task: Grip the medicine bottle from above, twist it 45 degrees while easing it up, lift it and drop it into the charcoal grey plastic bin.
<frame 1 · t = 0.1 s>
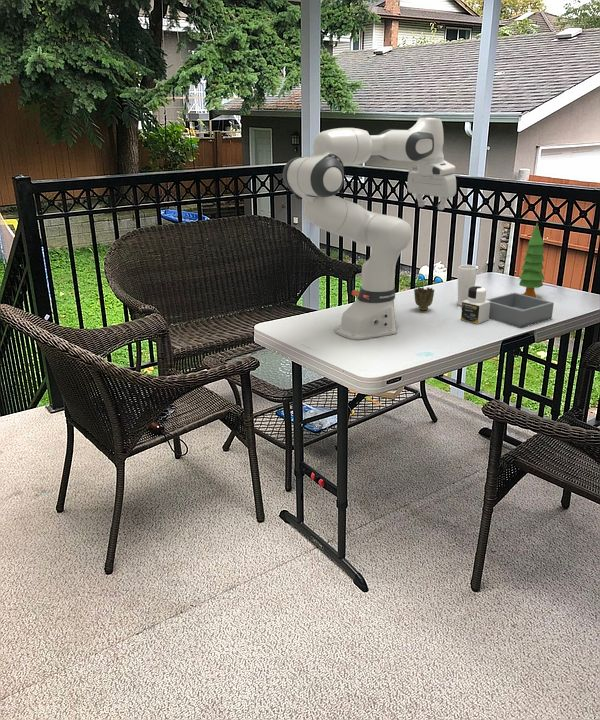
hand: (431, 208, 219), 39 cm above the table, tool pointing down, fingers open, 8 cm apart
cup: (423, 310, 240), on the table
medicine bottle: (474, 320, 227), on the table
bin: (516, 317, 229), on the table
decorative tree: (528, 297, 252), on the table
drinking glass: (464, 305, 244), on the table
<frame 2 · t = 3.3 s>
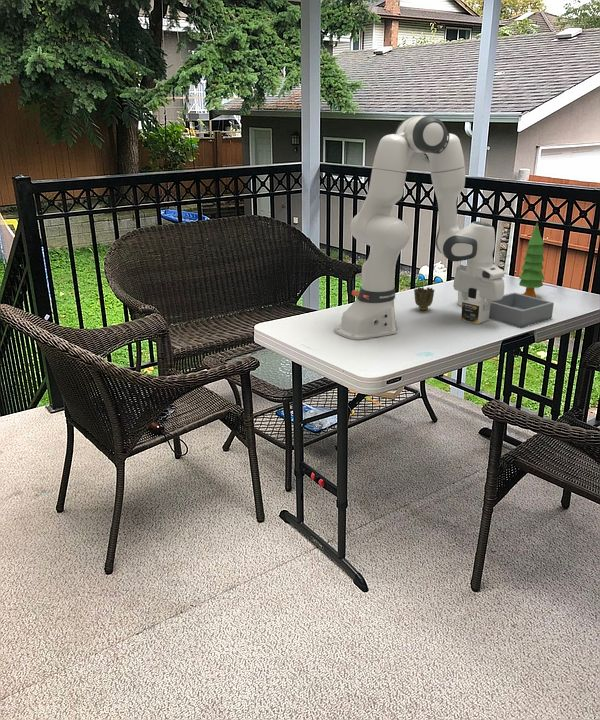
hand: (476, 307, 225), 5 cm above the table, tool pointing down, fingers closed on medicine bottle, 7 cm apart
medicine bottle: (474, 320, 227), on the table, touching gripper
everything else where it was.
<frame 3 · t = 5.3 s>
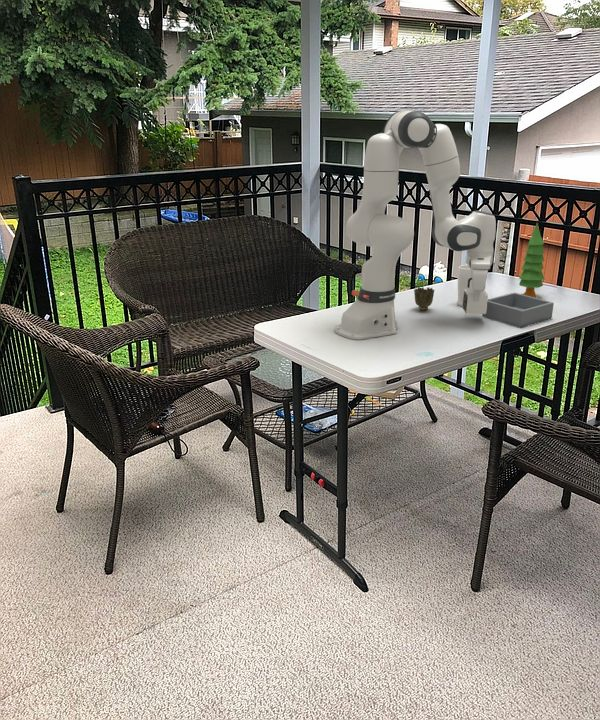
hand: (475, 297, 224), 8 cm above the table, tool pointing down, fingers closed on medicine bottle, 7 cm apart
medicine bottle: (474, 311, 226), point 3 cm above the table, touching gripper
everything else where it was.
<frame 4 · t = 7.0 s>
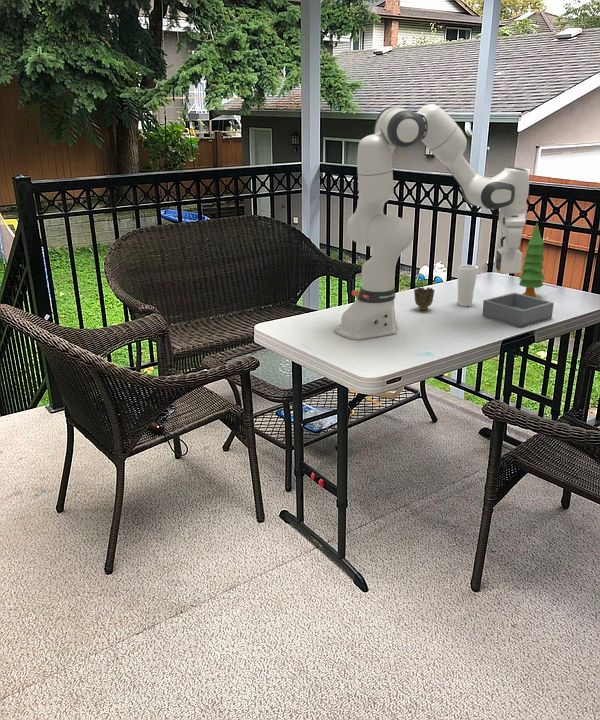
hand: (509, 256, 220), 22 cm above the table, tool pointing down, fingers closed on medicine bottle, 7 cm apart
medicine bottle: (507, 271, 222), point 17 cm above the table, touching gripper
everything else where it was.
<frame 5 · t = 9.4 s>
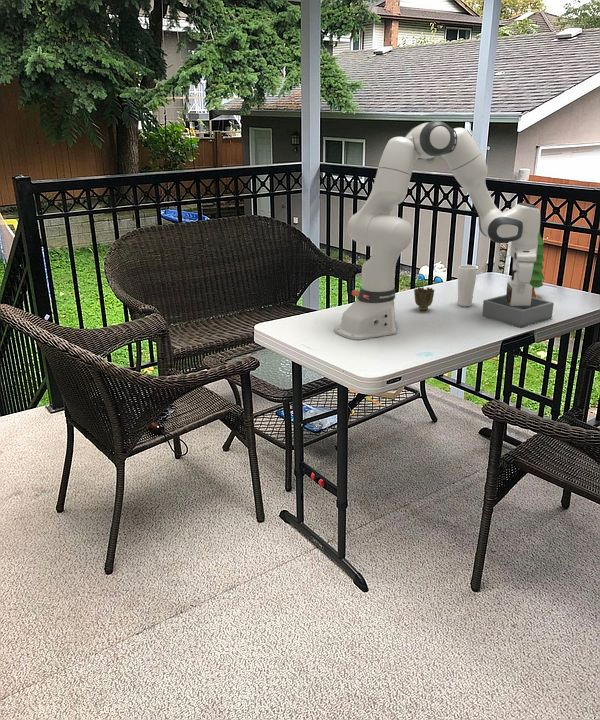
hand: (519, 289, 225), 10 cm above the table, tool pointing down, fingers closed on medicine bottle, 7 cm apart
medicine bottle: (517, 303, 227), point 5 cm above the table, touching gripper
everything else where it was.
when the fingers open (7 cm above the table, at t = 10.8 s): medicine bottle stays where it is, resting on bin.
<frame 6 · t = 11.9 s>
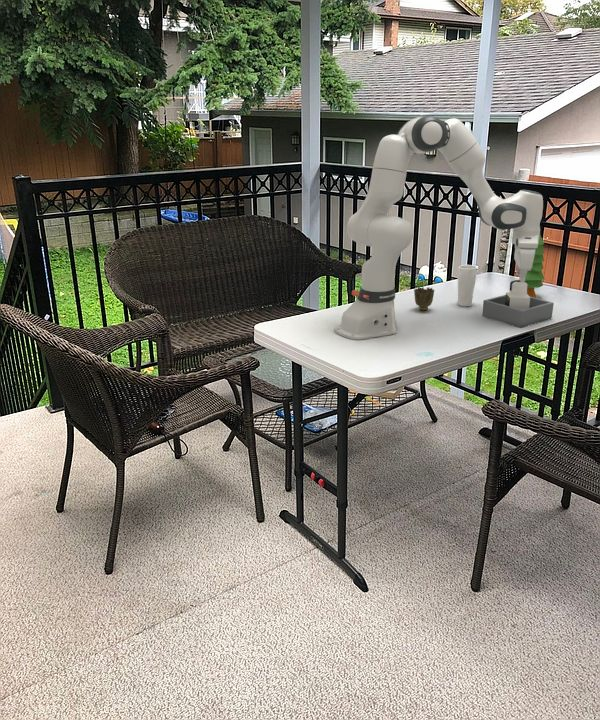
hand: (520, 278, 223), 15 cm above the table, tool pointing down, fingers open, 8 cm apart
medicine bottle: (516, 314, 229), point 1 cm above the table, touching bin
everything else where it was.
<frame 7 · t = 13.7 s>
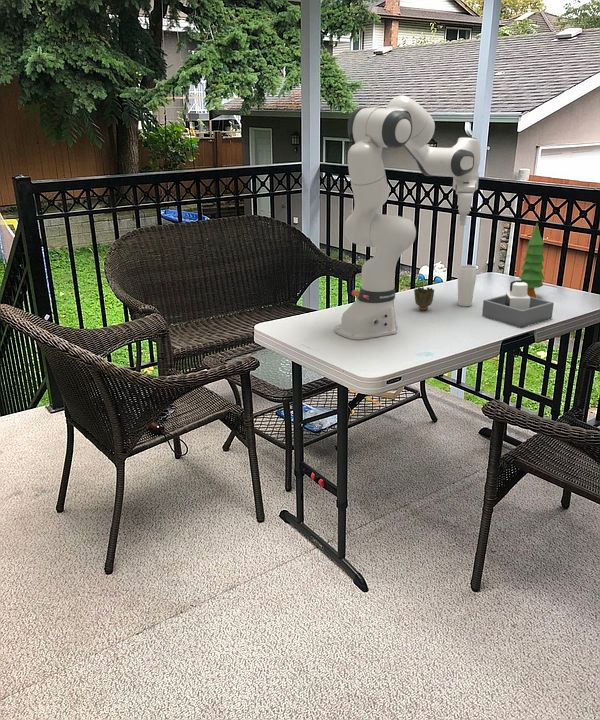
hand: (462, 223, 234), 31 cm above the table, tool pointing down, fingers open, 8 cm apart
nothing on the table moved.
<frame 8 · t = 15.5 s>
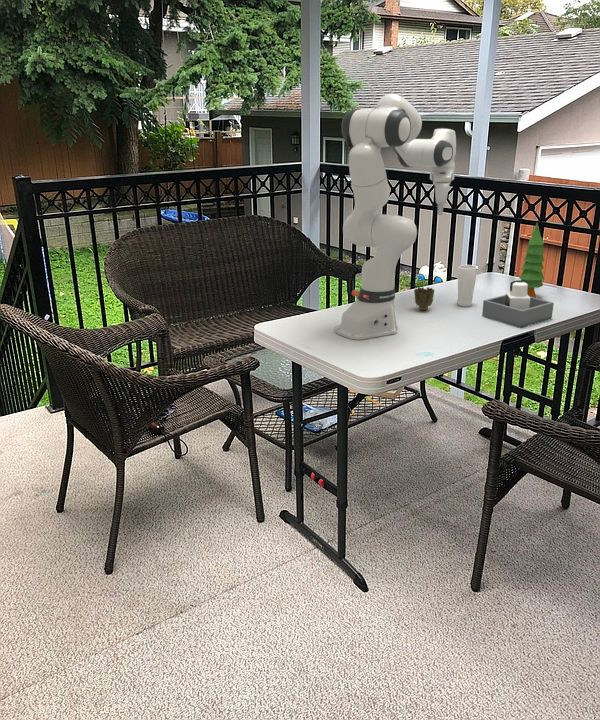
hand: (439, 212, 239), 34 cm above the table, tool pointing down, fingers open, 8 cm apart
nothing on the table moved.
at the end: medicine bottle inside the target area on the bin (1.0 cm from its centre), point 0.8 cm above the bin's base; the gripper is holding nothing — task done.
